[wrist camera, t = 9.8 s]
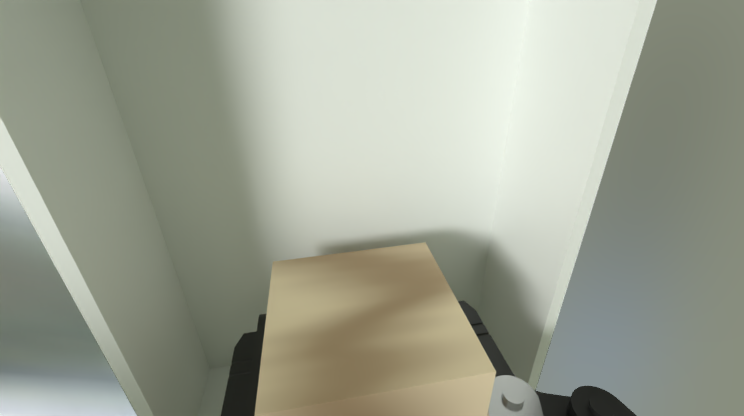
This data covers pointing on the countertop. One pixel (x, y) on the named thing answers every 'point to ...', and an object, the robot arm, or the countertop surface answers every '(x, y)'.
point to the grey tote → (305, 158)
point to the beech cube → (369, 339)
